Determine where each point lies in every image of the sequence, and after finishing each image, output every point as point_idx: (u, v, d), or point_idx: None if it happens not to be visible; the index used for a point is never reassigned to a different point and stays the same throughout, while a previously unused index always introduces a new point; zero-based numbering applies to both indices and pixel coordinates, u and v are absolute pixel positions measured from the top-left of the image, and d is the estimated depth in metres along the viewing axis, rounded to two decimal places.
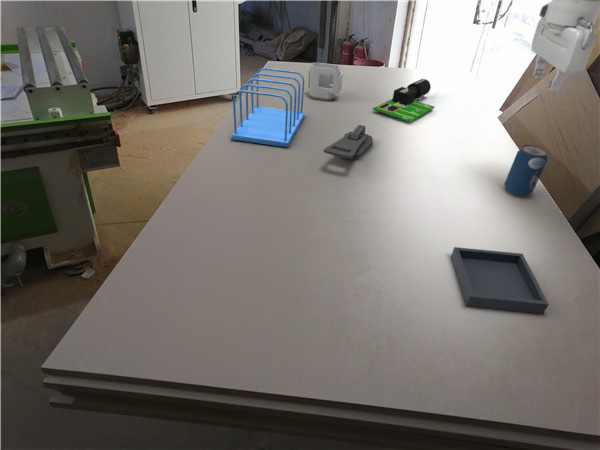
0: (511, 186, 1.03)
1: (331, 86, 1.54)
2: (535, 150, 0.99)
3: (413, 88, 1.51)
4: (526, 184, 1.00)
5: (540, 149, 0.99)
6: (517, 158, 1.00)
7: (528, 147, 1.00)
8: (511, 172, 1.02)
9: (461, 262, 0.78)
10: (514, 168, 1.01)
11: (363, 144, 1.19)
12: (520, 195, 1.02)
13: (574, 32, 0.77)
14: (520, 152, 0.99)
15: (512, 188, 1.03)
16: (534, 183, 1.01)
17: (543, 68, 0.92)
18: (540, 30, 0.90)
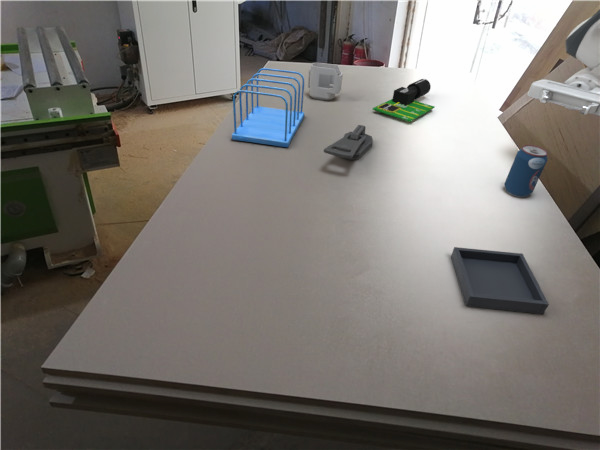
0: (511, 186, 1.03)
1: (331, 86, 1.54)
2: (535, 150, 0.99)
3: (413, 88, 1.51)
4: (526, 184, 1.00)
5: (540, 149, 0.99)
6: (517, 158, 1.00)
7: (528, 147, 1.00)
8: (511, 172, 1.02)
9: (461, 262, 0.78)
10: (514, 168, 1.01)
11: (363, 144, 1.19)
12: (520, 195, 1.02)
13: None
14: (520, 152, 0.99)
15: (512, 188, 1.03)
16: (534, 183, 1.01)
17: None
18: None
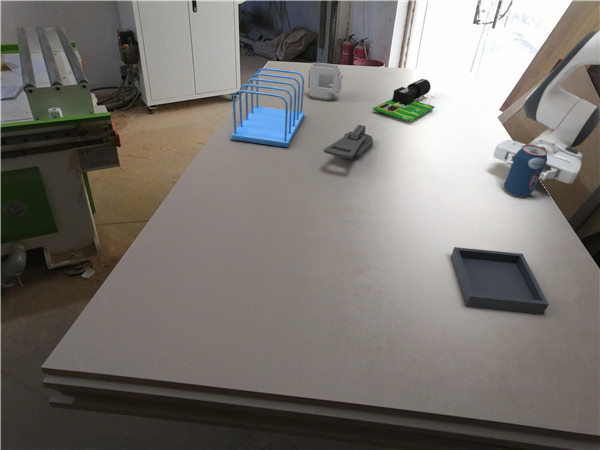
0: (511, 186, 1.03)
1: (331, 86, 1.54)
2: (535, 150, 0.99)
3: (413, 88, 1.51)
4: (526, 184, 1.00)
5: (540, 149, 0.99)
6: (517, 158, 1.00)
7: (528, 147, 1.00)
8: (511, 172, 1.02)
9: (461, 262, 0.78)
10: (514, 168, 1.01)
11: (363, 144, 1.19)
12: (520, 195, 1.02)
13: None
14: (520, 152, 0.99)
15: (512, 188, 1.03)
16: (534, 183, 1.01)
17: None
18: None
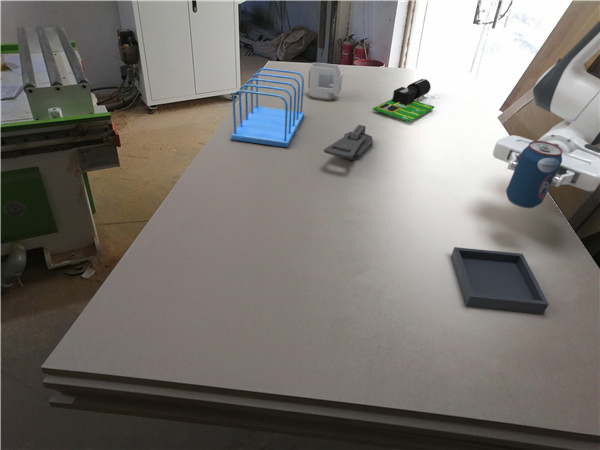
0: (515, 194, 0.80)
1: (331, 86, 1.54)
2: (546, 148, 0.76)
3: (413, 88, 1.51)
4: (534, 192, 0.78)
5: (552, 147, 0.77)
6: (523, 158, 0.77)
7: (537, 144, 0.78)
8: (515, 176, 0.79)
9: (461, 262, 0.78)
10: (519, 171, 0.78)
11: (363, 144, 1.19)
12: (527, 205, 0.80)
13: None
14: (527, 150, 0.76)
15: (516, 197, 0.80)
16: (545, 190, 0.78)
17: None
18: None
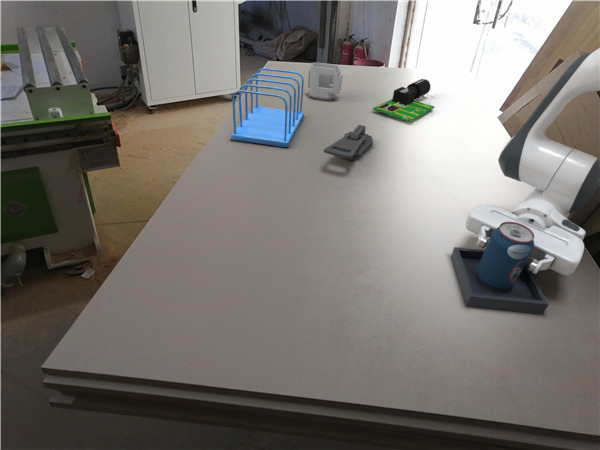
0: (486, 277, 0.75)
1: (331, 86, 1.54)
2: (517, 232, 0.70)
3: (413, 88, 1.51)
4: (505, 277, 0.72)
5: (524, 229, 0.71)
6: (492, 241, 0.72)
7: (508, 225, 0.72)
8: (485, 258, 0.74)
9: (461, 262, 0.78)
10: (489, 254, 0.73)
11: (363, 144, 1.19)
12: (498, 289, 0.74)
13: None
14: (496, 234, 0.71)
15: (486, 279, 0.75)
16: (516, 275, 0.72)
17: None
18: None
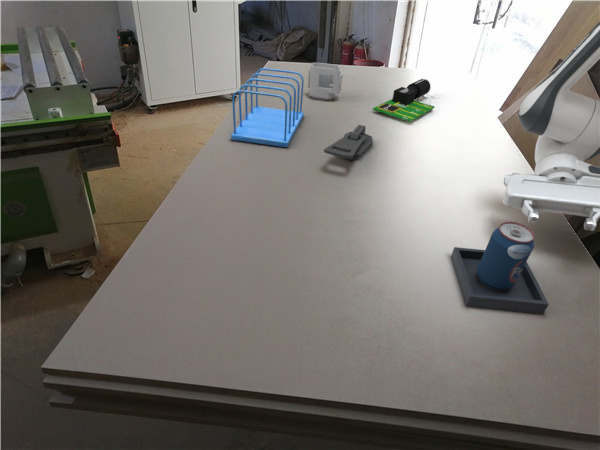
0: (486, 277, 0.75)
1: (331, 86, 1.54)
2: (517, 232, 0.70)
3: (413, 88, 1.51)
4: (505, 277, 0.72)
5: (524, 229, 0.71)
6: (492, 241, 0.72)
7: (508, 225, 0.72)
8: (485, 258, 0.74)
9: (461, 262, 0.78)
10: (489, 254, 0.73)
11: (363, 144, 1.19)
12: (498, 289, 0.74)
13: None
14: (496, 234, 0.71)
15: (486, 279, 0.75)
16: (516, 275, 0.72)
17: None
18: None
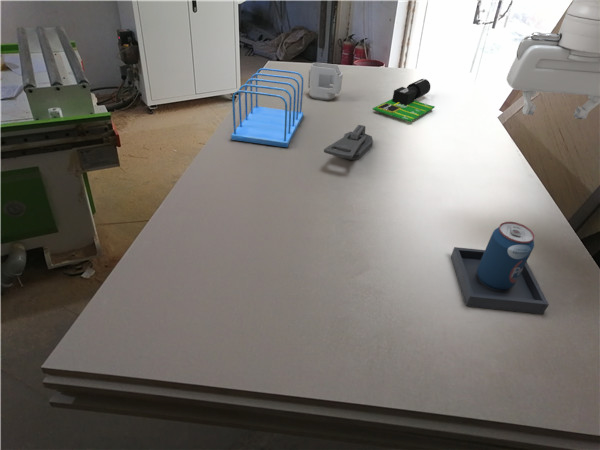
0: (486, 277, 0.75)
1: (331, 86, 1.54)
2: (517, 231, 0.70)
3: (413, 88, 1.51)
4: (505, 277, 0.72)
5: (524, 229, 0.71)
6: (492, 241, 0.72)
7: (508, 225, 0.72)
8: (485, 258, 0.74)
9: (461, 262, 0.78)
10: (489, 254, 0.73)
11: (363, 144, 1.19)
12: (498, 289, 0.74)
13: None
14: (496, 234, 0.71)
15: (486, 279, 0.75)
16: (516, 275, 0.72)
17: (586, 108, 0.73)
18: None
